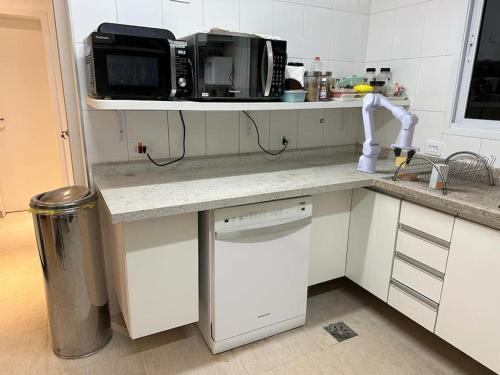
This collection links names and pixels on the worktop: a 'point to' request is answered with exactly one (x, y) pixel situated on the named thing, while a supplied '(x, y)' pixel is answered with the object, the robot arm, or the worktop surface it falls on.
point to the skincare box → (438, 176)
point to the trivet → (406, 176)
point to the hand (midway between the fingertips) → (402, 163)
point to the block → (400, 160)
